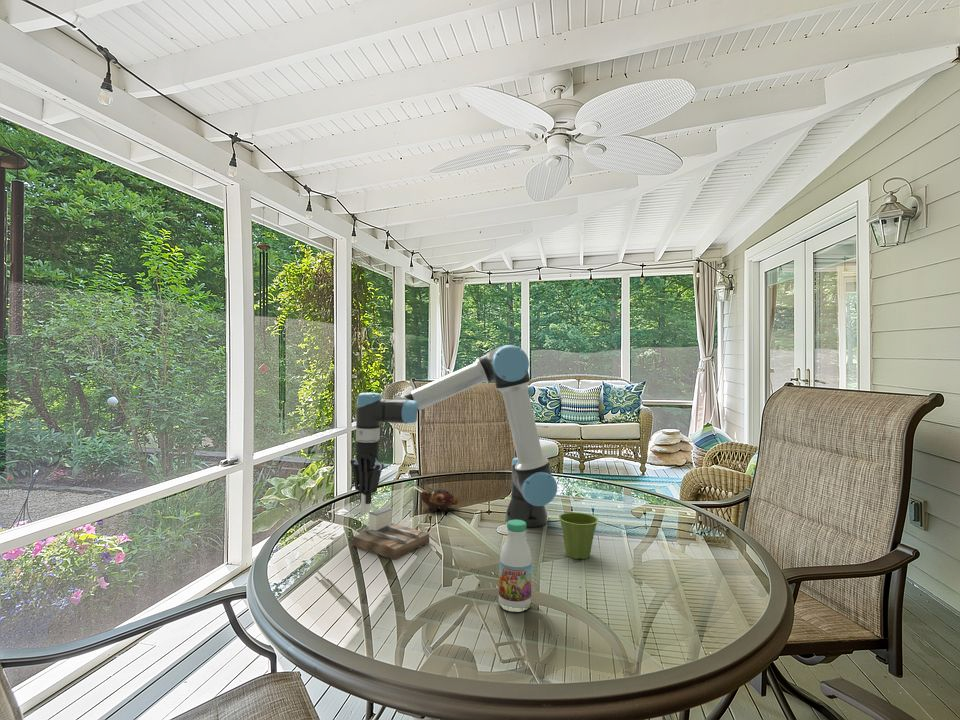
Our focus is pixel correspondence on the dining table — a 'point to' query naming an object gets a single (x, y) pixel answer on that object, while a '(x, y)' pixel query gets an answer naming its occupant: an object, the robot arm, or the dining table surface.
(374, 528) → the fader knob
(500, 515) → the dining table surface
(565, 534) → the plant pot
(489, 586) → the dining table surface
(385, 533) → the fader console
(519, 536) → the milk bottle
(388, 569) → the dining table surface
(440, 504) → the decorative turtle
